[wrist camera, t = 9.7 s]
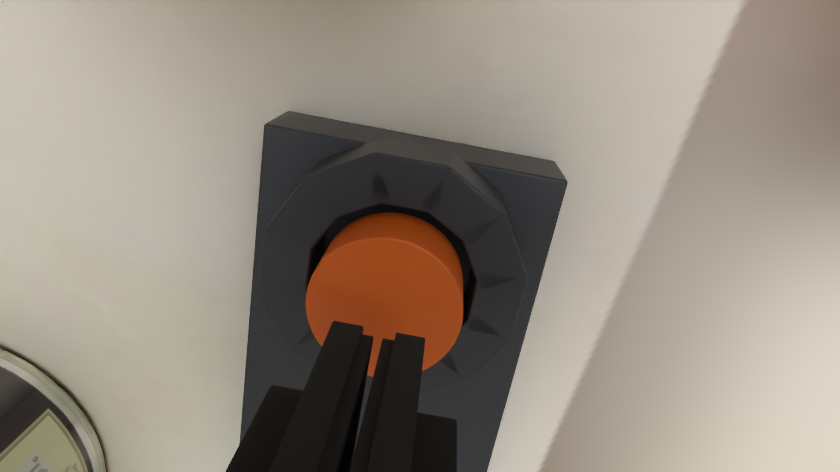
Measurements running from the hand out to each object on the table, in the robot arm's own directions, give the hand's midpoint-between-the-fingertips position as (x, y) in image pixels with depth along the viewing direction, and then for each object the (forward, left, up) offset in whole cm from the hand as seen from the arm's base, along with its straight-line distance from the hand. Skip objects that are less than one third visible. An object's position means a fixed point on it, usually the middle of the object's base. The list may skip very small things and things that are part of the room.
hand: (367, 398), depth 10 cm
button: (0, 0, -5) cm, 5 cm away
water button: (+4, +2, -8) cm, 10 cm away
